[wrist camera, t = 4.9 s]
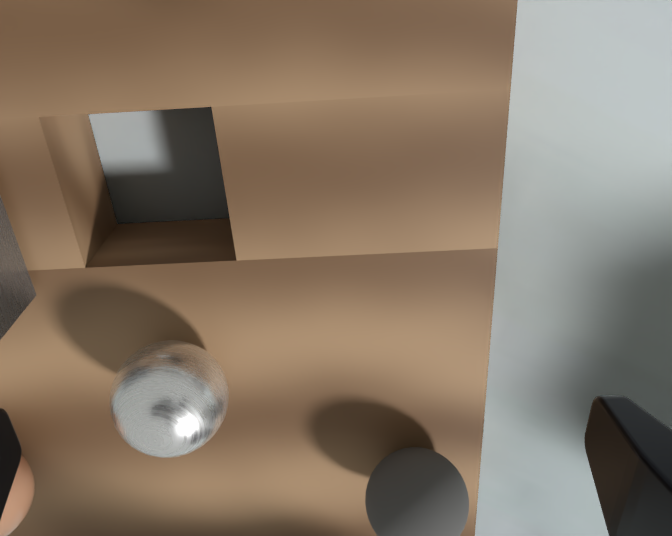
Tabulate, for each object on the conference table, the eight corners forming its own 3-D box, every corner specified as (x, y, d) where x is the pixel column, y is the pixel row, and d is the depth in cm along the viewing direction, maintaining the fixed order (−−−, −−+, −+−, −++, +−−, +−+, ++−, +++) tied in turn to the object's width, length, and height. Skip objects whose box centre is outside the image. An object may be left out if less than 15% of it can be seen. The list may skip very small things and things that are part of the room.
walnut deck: (461, 485, 27) (473, 545, 25) (24, 499, 28) (-8, 558, 26) (495, -79, 16) (523, -77, 14) (-224, -29, 17) (-325, -18, 15)
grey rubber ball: (458, 492, 23) (475, 579, 20) (365, 494, 23) (368, 581, 20) (462, 424, 21) (481, 507, 18) (361, 427, 22) (364, 511, 19)
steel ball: (243, 399, 21) (226, 481, 18) (143, 403, 21) (109, 485, 18) (228, 315, 19) (206, 390, 16) (118, 320, 19) (76, 395, 16)
